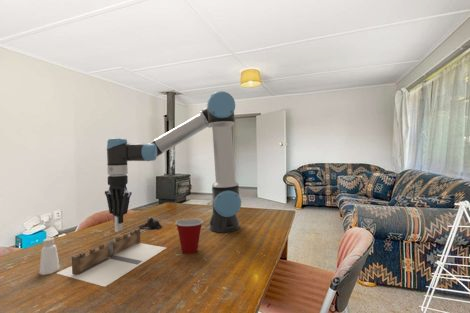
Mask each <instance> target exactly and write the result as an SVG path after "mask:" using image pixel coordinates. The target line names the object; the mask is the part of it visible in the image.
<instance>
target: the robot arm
mask: <svg viewBox="0 0 470 313" xmlns="http://www.w3.org/2000/svg"><path fill="white" fill-rule="evenodd" d="M235 110H236V101H235V99H234V97H233V95H231V93H229V92H226V91H224V90H218V91H215V92H213V93H212V94H211V95H210V96H209V97H208V99H207V103H206V106H205V107H204V108H202V109H201V110H200V111H199V112H198V114H197V115H195V116H193V117H191V118H189V119H187V120H186V121H184V122H182V123H181V124H178V126H176V127H174V128H172V129H170V130H169V131H167V132H165V133H164V134H161V135H160V136H159V137H157V138H155V139H154V140H152V141H150V142H145V143H143V142H142V143H138V142H137V143H130V142H128V140H127V138H118V137H117V138H116V137H115V138H109V139H107V144H106V156H107V157H106V158H107V161H106V162H107V163H106V165H107V185H108V186H109V187H108V190H105V191H104V195H105V197H106V200H107V207H108V212H109V214H110V215H111V214H112V216H113V223H114V232H116V233H118V232H120V231H123V228H124V227H123V223H124V215H127V214H128V211H129V210H128V209H129V204H130V198H131V196H132V191H129V190H128V188H127V184H128V180H129V179H128V175H127V174H128V162H153V161H156V160H157V158H158V157H159V156H161V155H162V154H163V153H166V152H167V151H168V150H171V149H172V148H174V147H176V146H177V145H179V144H181V143H183V142H185V141H186V140H188V139H189V138H191V137H193V136H195V135H196V134H198V133H199V132H202V131H203V130H205V129H206V128H212V143H213V157H214V173H215V174H214V175H215V178H214V179H215V181H214V183H213V184H212V185H211V192H212V193H211V194H212V196H211V197H212V198H211V199H212V215H211V218H210V221H209V230H210V231H212V232H216V233H231V232H235V231H237V230H238V229H240V221H239V218H238V215H237V213H238V212H239V211H240V209H241V207H242V199H241V197H240V189H239V188H240V187H239V182H237V181H236V179H235V178H236V177H235V162H234V145H233V144H234V143H233V126H234V125H235V123H236V121H235V119H236V118H235Z"/></svg>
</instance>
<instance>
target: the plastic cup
mask: <svg viewBox="0 0 470 313" xmlns="http://www.w3.org/2000/svg"><path fill="white" fill-rule="evenodd" d="M203 223H204V220H202V219H200V218H182V219H178V220H176V221H175V223H174V224H175V225H176V229H177V232H178V238H179V242H180V243H179V245H180V246H181V251H182V253H183V254H185V255H192V254H195V253H196V252H197V251H198V249H199V248H198V247H199V242H200V236H201V235H200V234H201V230H202V226H203Z"/></svg>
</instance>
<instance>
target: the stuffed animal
mask: <svg viewBox="0 0 470 313" xmlns="http://www.w3.org/2000/svg"><path fill="white" fill-rule="evenodd" d="M137 227H138V229H144V230H142V231H141V230H140V234H141V233H143V232H146V231H148V230H154V231H158V230H160V229H162V228H163V225H162V224H160V221H159V220H156V219H154V218H153V217H147V222H145V223H143V224H138V225H137Z"/></svg>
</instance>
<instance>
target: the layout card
mask: <svg viewBox="0 0 470 313" xmlns="http://www.w3.org/2000/svg"><path fill="white" fill-rule="evenodd" d="M166 249H167V247H165V246H158V245H152V244H146V243H142V242H139V243H136V244H134V245H132V246H131V247H129V248H127V249H125V250H123V251H121V252H119V253H117V254H115V255H114V256H112V257H109V258H107V259H105V260H103V261H101V262H99V263H97V264H95V265H93V266H91V267H89V268H87V269H85V270H83V271H81V272H80V273H78V274H76V275H74V274H72V265H71V266H69V267H66V268H65V269H62V270H60V271H57V272H56V275H60V276H65V277H68V278H71V279H75V280H79V281H82V282H86V283H88V284H89V283H90V284H93V285H97V286H101V287H104V288H106V287H107V286H108V285H110V284H112V283H115V281H116V280H118V279H119V278H121V277H123V276H125V275H126V274H127V273H129V272H131V271H132V270H134V269H136V268H138V267H139V266H140V265H142V264H144V263H146V262H147V261H149V260H150V259H151V258H153V257H155V256H156V255H158V254H159V253H161V252H162V251H164V250H166Z"/></svg>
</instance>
